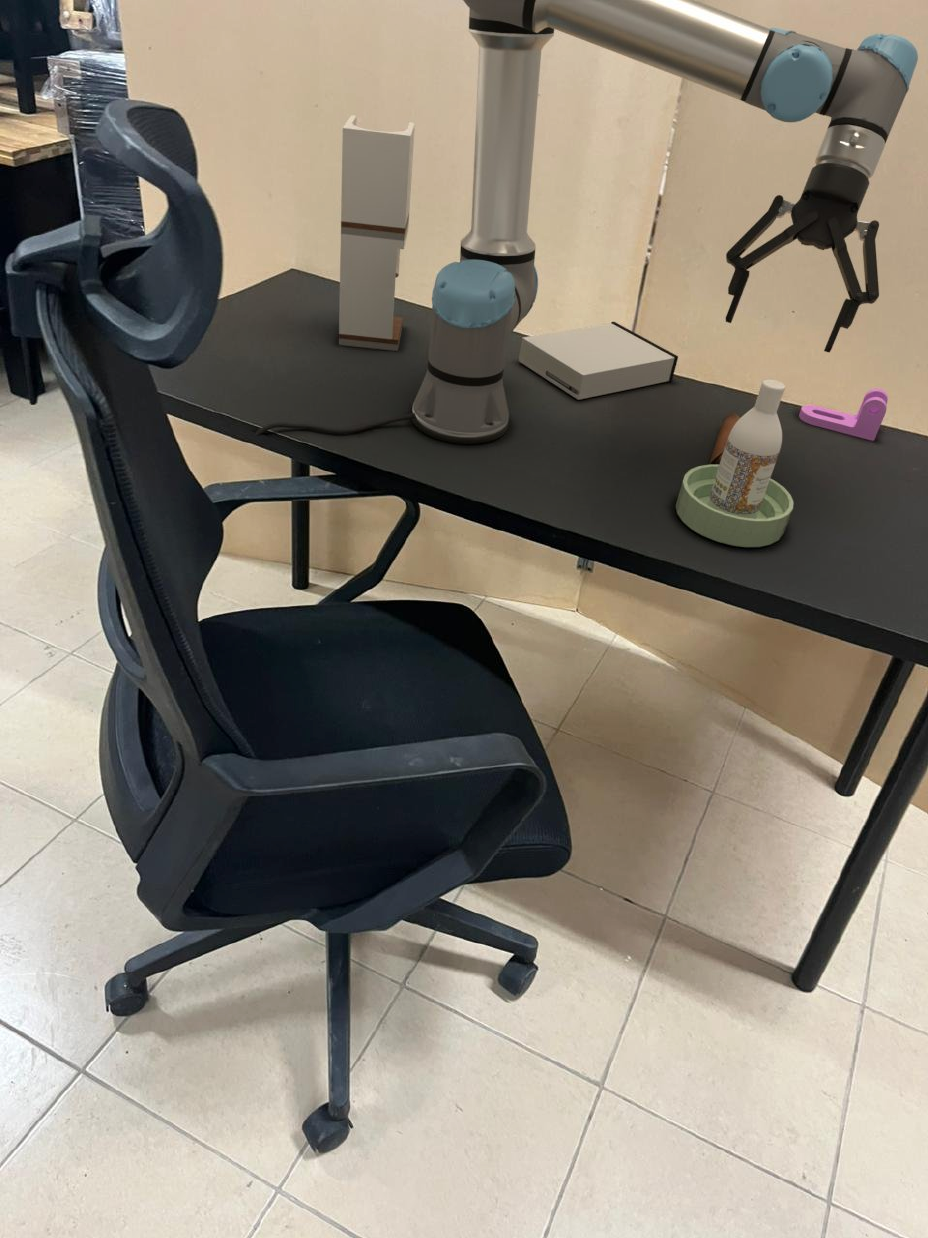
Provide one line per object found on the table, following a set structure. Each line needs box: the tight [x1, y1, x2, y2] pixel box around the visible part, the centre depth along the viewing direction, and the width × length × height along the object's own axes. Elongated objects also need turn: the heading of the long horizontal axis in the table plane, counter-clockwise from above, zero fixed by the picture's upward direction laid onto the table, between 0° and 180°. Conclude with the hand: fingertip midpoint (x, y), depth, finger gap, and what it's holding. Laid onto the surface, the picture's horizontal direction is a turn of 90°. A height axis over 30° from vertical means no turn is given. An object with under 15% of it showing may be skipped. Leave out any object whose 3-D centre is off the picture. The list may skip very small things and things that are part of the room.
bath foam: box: [707, 379, 786, 519], centre depth 121 cm, size 7×7×20 cm
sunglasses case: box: [708, 412, 741, 465], centre depth 142 cm, size 18×7×7 cm, turn 161°
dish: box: [675, 464, 795, 548], centre depth 126 cm, size 15×15×4 cm
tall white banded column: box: [338, 114, 416, 352], centre depth 156 cm, size 11×11×35 cm
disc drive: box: [518, 321, 679, 401], centre depth 163 cm, size 18×22×5 cm
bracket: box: [798, 388, 889, 442], centre depth 155 cm, size 13×6×7 cm, turn 67°
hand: (777, 335), depth 121 cm, fingers open, 13 cm apart
